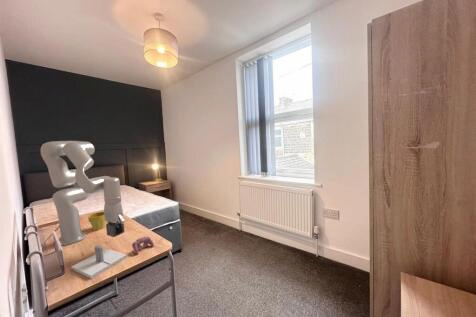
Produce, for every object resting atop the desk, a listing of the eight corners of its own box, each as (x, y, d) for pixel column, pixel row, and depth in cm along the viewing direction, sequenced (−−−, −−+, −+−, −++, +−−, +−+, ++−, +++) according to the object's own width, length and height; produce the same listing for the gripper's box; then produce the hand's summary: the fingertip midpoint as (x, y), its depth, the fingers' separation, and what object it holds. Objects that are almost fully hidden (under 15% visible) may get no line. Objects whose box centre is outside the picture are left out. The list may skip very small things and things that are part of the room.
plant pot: (101, 231, 130) (99, 217, 129) (86, 232, 130) (84, 217, 129) (111, 224, 140) (110, 211, 139) (97, 225, 140) (95, 211, 139)
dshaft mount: (72, 269, 92) (69, 252, 91) (107, 251, 106) (105, 235, 105) (91, 278, 84) (88, 260, 83) (126, 257, 99) (124, 241, 98)
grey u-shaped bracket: (113, 237, 105) (112, 226, 104) (106, 234, 107) (105, 224, 107) (124, 232, 110) (123, 221, 109) (117, 230, 113) (116, 219, 112)
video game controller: (151, 246, 111) (147, 234, 112) (155, 245, 108) (151, 233, 109) (133, 255, 103) (129, 242, 104) (136, 254, 100) (132, 241, 101)
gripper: (96, 200, 107) (99, 231, 109) (116, 205, 99) (118, 238, 102) (110, 196, 114) (112, 226, 116) (129, 200, 106) (132, 232, 108)
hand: (115, 231), depth 109 cm, fingers closed on grey u-shaped bracket, 6 cm apart
